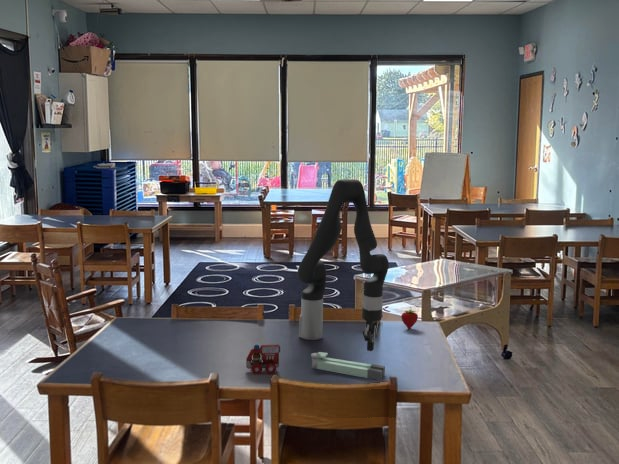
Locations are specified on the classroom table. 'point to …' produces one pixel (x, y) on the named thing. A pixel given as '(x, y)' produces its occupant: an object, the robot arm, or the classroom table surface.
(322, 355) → the tongs arm
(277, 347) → the toy fire truck
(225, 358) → the classroom table surface
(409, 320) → the strawberry
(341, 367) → the bar
